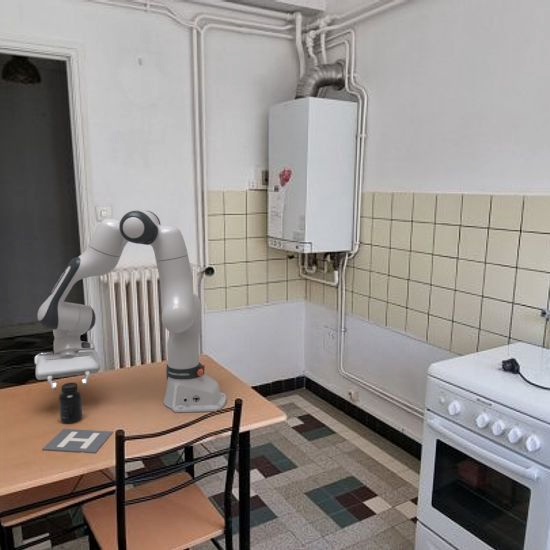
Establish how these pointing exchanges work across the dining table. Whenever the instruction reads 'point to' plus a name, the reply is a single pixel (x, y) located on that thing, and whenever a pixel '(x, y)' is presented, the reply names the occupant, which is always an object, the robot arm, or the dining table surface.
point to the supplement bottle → (70, 404)
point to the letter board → (78, 441)
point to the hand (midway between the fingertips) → (69, 387)
